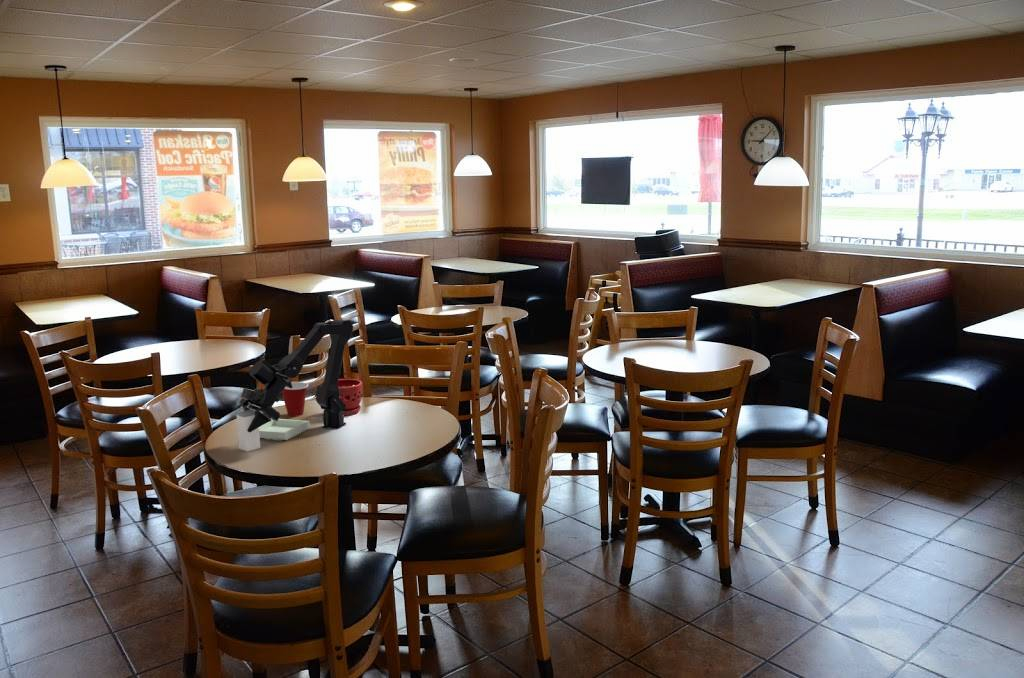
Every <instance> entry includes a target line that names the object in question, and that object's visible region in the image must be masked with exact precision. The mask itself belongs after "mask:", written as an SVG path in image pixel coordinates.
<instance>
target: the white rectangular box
mask: <svg viewBox="0 0 1024 678" xmlns="http://www.w3.org/2000/svg"><path fill="white" fill-rule="evenodd" d="M254 417H255V411H253V410H246V411H244V410H243V411H238V412H236V422H237V433H238V446H239V449H240V450H242V451H244V450H245V451H244V452H249V451H250V450H251V451H254V450H258V449H261V439H260V436H259V427H258V428H257V429H255V430H253V431H252V432H248V431H247V430H248V428H249V426H250V424H251V423H252V421H253V419H254Z"/></svg>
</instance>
